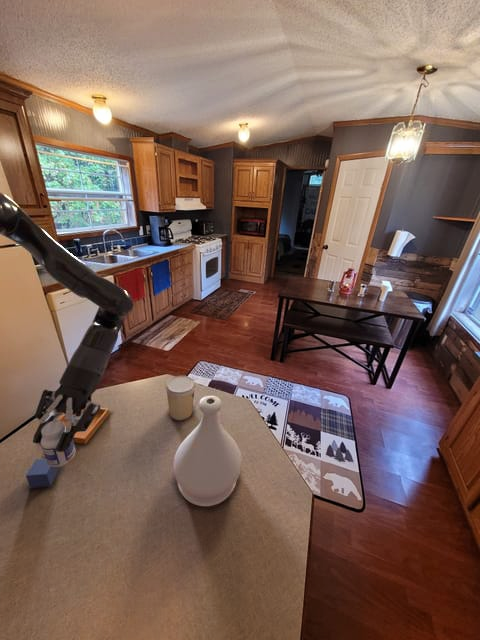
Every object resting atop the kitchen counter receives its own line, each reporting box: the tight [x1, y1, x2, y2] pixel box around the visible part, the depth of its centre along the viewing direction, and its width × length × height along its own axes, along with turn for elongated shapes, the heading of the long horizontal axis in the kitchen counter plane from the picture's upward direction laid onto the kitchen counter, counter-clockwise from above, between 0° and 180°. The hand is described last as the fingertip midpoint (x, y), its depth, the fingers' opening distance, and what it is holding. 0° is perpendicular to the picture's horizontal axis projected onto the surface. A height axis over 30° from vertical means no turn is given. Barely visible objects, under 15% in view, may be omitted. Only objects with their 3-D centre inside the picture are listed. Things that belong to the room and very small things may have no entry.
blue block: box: [25, 457, 60, 489], centre depth 63 cm, size 4×4×4 cm
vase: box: [173, 395, 243, 507], centre depth 62 cm, size 17×17×25 cm
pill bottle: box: [40, 419, 76, 467], centre depth 54 cm, size 5×5×9 cm
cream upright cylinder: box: [165, 375, 196, 421], centre depth 85 cm, size 9×9×12 cm
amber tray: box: [57, 407, 111, 445], centre depth 79 cm, size 12×12×2 cm
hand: (49, 446), depth 53 cm, fingers closed on pill bottle, 5 cm apart
